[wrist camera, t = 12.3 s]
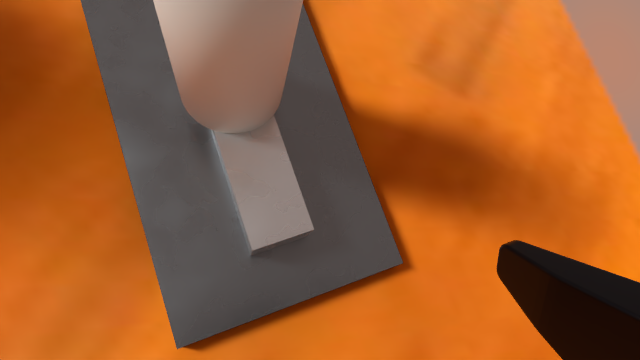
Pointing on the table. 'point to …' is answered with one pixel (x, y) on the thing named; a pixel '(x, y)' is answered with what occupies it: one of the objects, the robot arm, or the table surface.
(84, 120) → the table surface
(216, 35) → the off-white dowel
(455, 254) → the table surface
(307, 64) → the ridge plate
